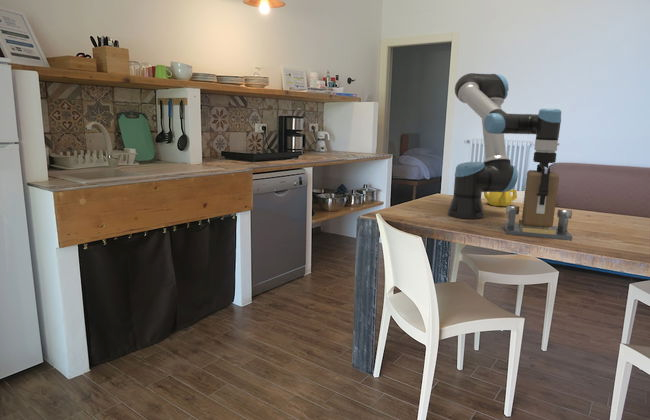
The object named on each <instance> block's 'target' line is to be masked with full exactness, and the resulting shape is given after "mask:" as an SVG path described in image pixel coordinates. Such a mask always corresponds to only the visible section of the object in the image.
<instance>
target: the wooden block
mask: <svg viewBox="0 0 650 420" xmlns="http://www.w3.org/2000/svg"><path fill="white" fill-rule="evenodd" d="M541 174H542V173H541V172H538V171H537V169H536V170H534V169H532V170H531V169H530V170H527V172H526V179H525V180H526V181H525V189H524V197H523V205H522V206H523V207H522V215H521V219H522V220H523V223H524V225H527V226H538V227H549V228H550V227H552V226H554V219H555V213H556V203H557V196H558V190H559V189H558V188H559V182H560V175H559V174H558V173H557V172H555V171H554V170H553V171H552V170H550V173H549V186H548V195H547V197H546V205H545V213H544V214H539V213H536V209H537V201H538V196H537V194H539V188H540V184H541Z"/></svg>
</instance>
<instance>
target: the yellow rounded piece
mask: <svg viewBox="0 0 650 420" xmlns="http://www.w3.org/2000/svg"><path fill="white" fill-rule="evenodd" d="M511 193H512V194H511ZM483 196H484V198H485V199H486V201H487V204H489V206H493V207H506V206H507V205H509V206H511V205H512V202H513V201H515V200H516V199H518V195H517V189H516V188H513V189H512V190H510V191H507V192H483Z"/></svg>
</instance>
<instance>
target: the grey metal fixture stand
mask: <svg viewBox="0 0 650 420" xmlns="http://www.w3.org/2000/svg"><path fill="white" fill-rule="evenodd" d="M572 211H573V210H571V209H562V208H561V209H559V208H558V209H557V211H556V212H557V213H556V217H557V219H558V222H557V225H556V226H555V225H553V226H552V227H550V228H549V227H538V226H527V225H524V223H523V220H522V218H520V219H518V222H516V216H517V215H519V214H520V206H518V205H510V206H509V205H507V206H505V214H507V215H508V217H507V221H504V222H503V228H504V232H505V235H509V234H511V236H520V235H523V236H522V237H530V236H532V237H534V238H543V239H552V240H562V239H563V240H564V241H572V240H573V238H572V237H573V235H572V234H571V233H570V232H569V231H568V225H569V220H571V219H572V216H573V212H572Z"/></svg>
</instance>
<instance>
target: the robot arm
mask: <svg viewBox="0 0 650 420" xmlns="http://www.w3.org/2000/svg"><path fill="white" fill-rule="evenodd" d="M454 93H455V97H456V98H457V99H458V100H459V101H460V103H463V104H466V105H468V107H469V108H470V109H472V111H474V112H475V114H477V115H478V116H479V117H480V118H481V125H482V135H483V137H482V138H483V144H484V146H483V147H484V153H485V154H484V155H485V159H484V161H483V162H482V161H468V162H462V163H459V164H457V165H456V167H455V172H454V183H453V196H452V200H451V202H450V204H449V206H448V208H447V215H448V216H451V217H454V218H457V219H466V220H475V219H476V220H479V219H483V218H484V216H485V209H484V208H483V207H484V206H483V203H482V193H484V192H487V193H489V192H507V191H510V190H514V189H515V186H516V184H517V182H518V177H519V174H518V173H519V172H518V171H519V170H518V169H517V167H516V166H515V165H512V164H511V159H510V158H509V157H508V156H507V151H506V142H505V135H506V134H507V135H509V134H510V135H511V134H512V135H536V136H535V141H534V152H533V159H532V160H533V162H535V163H538V164H537V165H536V170H537V171H538V172H541V173H542V174H541V184H540V188H539V194H537V196H538V201H537V209H536V213H539V214H544V213H545V205H546V197H547V195H548V186H549V173H550V171H551V168H550V167H549V164H555V163H556V160H557V153H556V152H557V151H558V146H559V145H560V142H559V138H560V130H561V129H560V128H561V124H562V123H561V122H562V110H561V109H560V108H540V109H539V111H538V114H536V113H535V114H534V113H530V114H529V113H507V112H505V111H504V109H502V105H503V104H504V102H505V99H507V98H508V94H509V83H508V80H507V78H506V77H505V76H504V75H503V74H497V73H472V72H471V73H466V74H464V75H463V76H461V77H459V79H458V80H457V81H456V83H455V85H454Z"/></svg>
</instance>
